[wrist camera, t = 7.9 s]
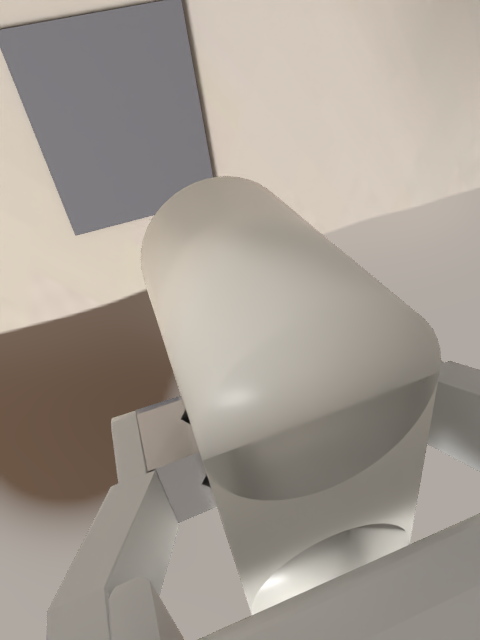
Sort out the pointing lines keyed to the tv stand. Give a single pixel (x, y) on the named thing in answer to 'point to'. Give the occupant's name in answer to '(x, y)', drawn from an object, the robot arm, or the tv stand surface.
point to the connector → (291, 384)
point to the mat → (112, 109)
